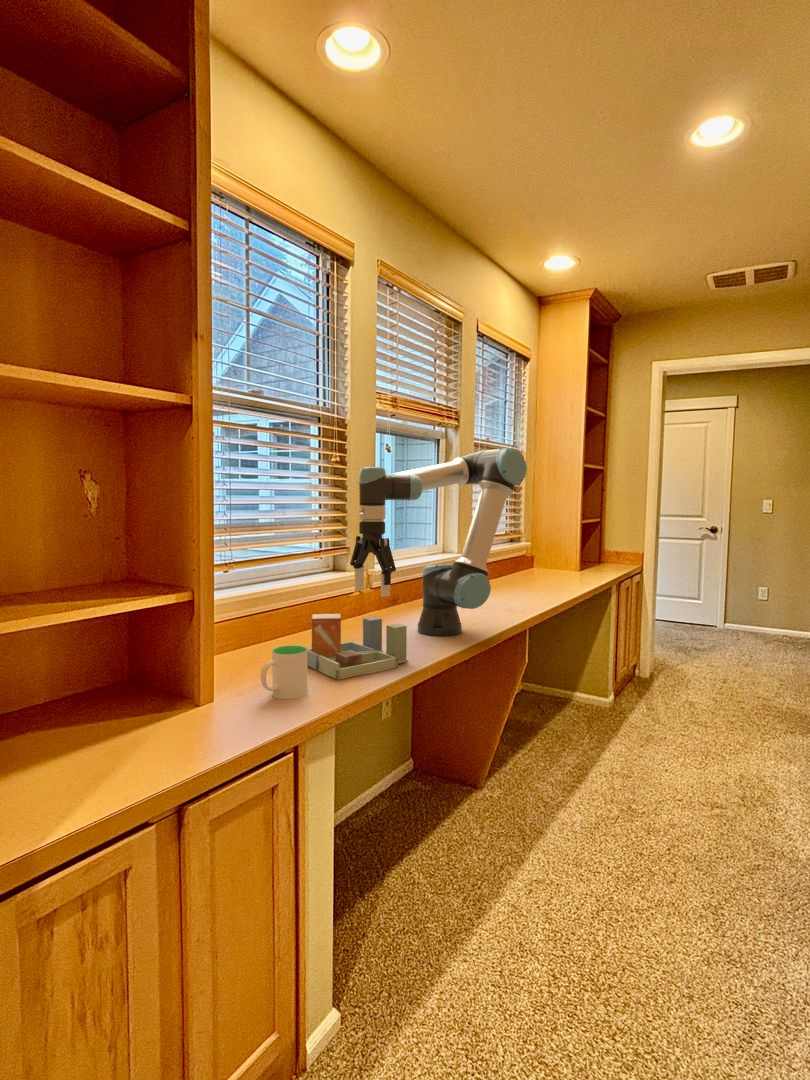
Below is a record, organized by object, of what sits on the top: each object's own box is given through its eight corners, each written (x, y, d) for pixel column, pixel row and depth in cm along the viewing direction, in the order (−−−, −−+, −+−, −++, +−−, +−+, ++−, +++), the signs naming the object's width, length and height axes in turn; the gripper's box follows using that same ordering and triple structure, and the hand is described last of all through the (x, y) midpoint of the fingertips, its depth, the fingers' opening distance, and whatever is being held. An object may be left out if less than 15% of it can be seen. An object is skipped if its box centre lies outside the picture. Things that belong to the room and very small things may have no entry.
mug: (276, 706, 131) (275, 660, 131) (252, 699, 136) (251, 654, 135) (314, 692, 141) (314, 648, 140) (290, 685, 146) (290, 643, 145)
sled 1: (366, 646, 183) (366, 614, 182) (390, 655, 173) (390, 621, 172) (295, 659, 168) (294, 624, 167) (316, 669, 158) (316, 632, 157)
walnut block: (352, 668, 161) (351, 650, 161) (362, 672, 157) (362, 654, 157) (335, 671, 158) (335, 653, 158) (345, 676, 154) (345, 657, 154)
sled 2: (392, 656, 172) (392, 621, 171) (412, 663, 164) (413, 627, 163) (318, 670, 157) (318, 633, 157) (336, 679, 150) (336, 640, 149)
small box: (311, 665, 163) (311, 618, 162) (312, 659, 170) (311, 613, 169) (341, 664, 164) (341, 617, 163) (340, 658, 171) (340, 613, 170)
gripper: (339, 519, 181) (339, 588, 183) (386, 522, 161) (386, 600, 163) (359, 518, 185) (359, 586, 187) (408, 521, 166) (408, 597, 167)
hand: (372, 593), depth 175 cm, fingers open, 13 cm apart
